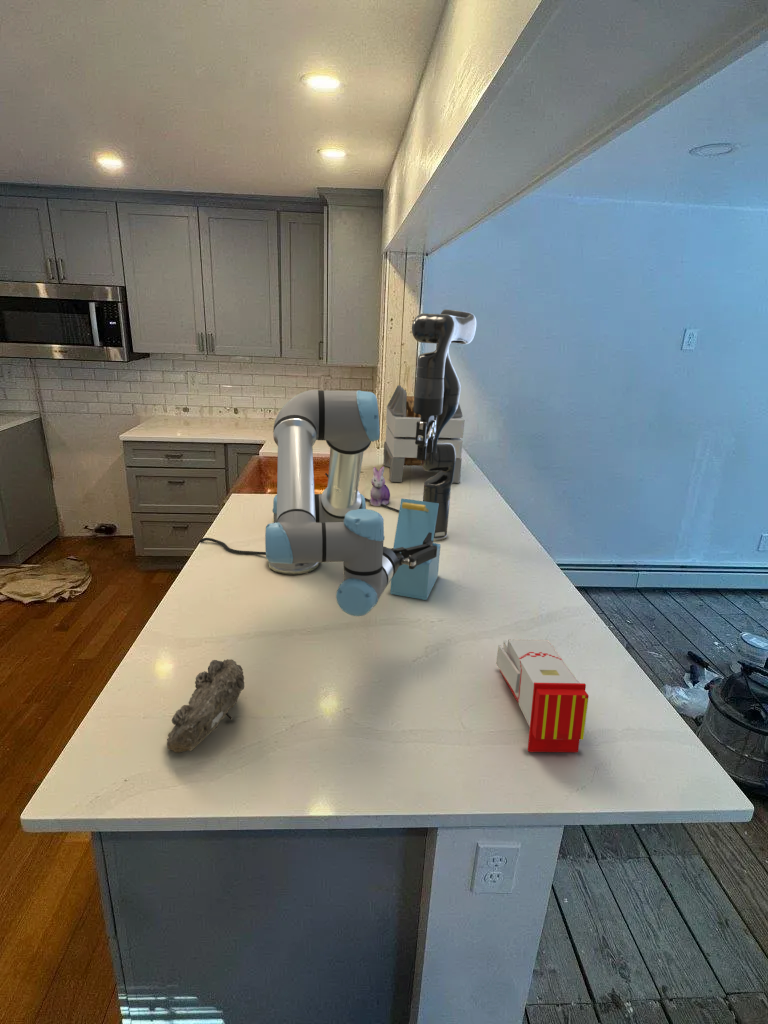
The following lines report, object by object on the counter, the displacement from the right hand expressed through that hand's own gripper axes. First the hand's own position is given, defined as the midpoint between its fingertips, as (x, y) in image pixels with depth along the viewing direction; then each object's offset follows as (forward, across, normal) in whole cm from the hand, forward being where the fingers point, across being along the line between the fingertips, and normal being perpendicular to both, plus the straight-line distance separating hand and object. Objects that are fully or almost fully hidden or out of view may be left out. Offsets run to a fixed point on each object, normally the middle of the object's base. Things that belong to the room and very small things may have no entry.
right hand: (424, 456), depth 152 cm
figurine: (+38, +63, +31) cm, 80 cm away
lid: (+19, -6, 0) cm, 20 cm away
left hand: (+15, -20, 0) cm, 25 cm away
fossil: (+38, -69, +23) cm, 82 cm away
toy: (+38, -44, -35) cm, 68 cm away
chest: (+38, -2, 0) cm, 38 cm away
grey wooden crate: (+38, +114, +26) cm, 123 cm away
